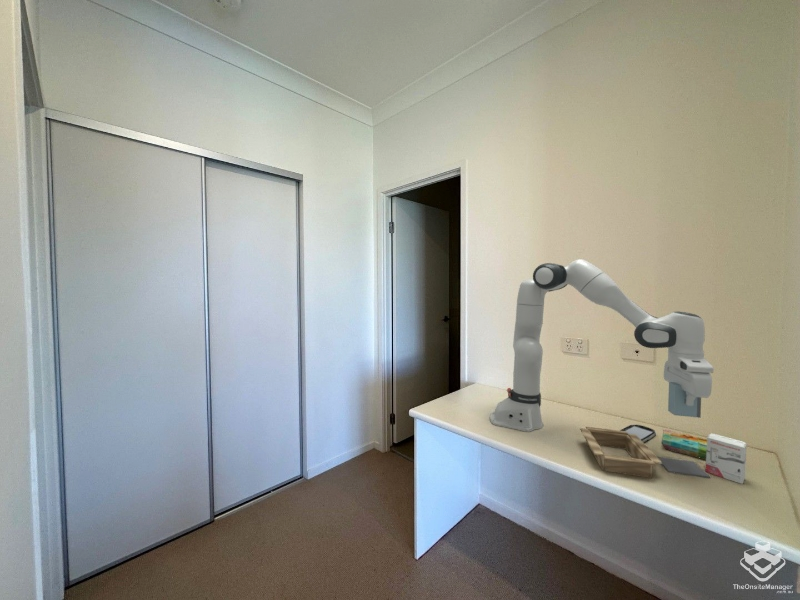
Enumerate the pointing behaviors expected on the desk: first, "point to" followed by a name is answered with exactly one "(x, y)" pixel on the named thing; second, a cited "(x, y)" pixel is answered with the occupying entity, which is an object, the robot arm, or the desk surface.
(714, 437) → the ink box
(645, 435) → the gaming console
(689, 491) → the desk surface
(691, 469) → the mat
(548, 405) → the desk surface
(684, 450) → the puzzle game
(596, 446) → the brown wooden rectangular frame
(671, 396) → the block
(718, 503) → the desk surface
